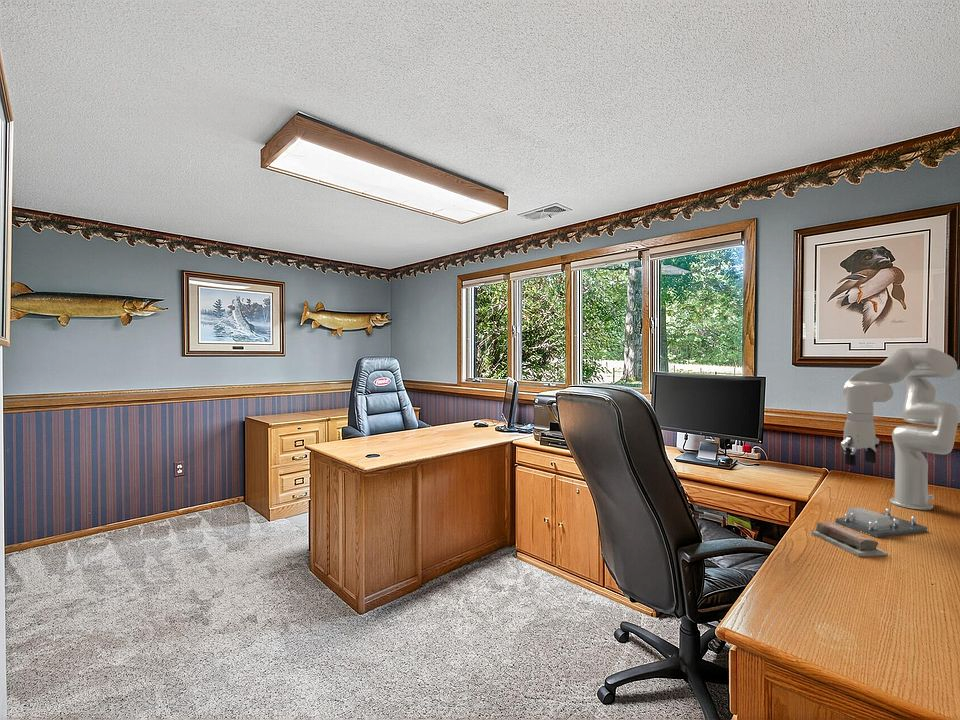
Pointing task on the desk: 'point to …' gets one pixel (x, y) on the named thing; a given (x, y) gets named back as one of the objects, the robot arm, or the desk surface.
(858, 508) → the block
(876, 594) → the desk surface
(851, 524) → the tray
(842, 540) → the packaged product
